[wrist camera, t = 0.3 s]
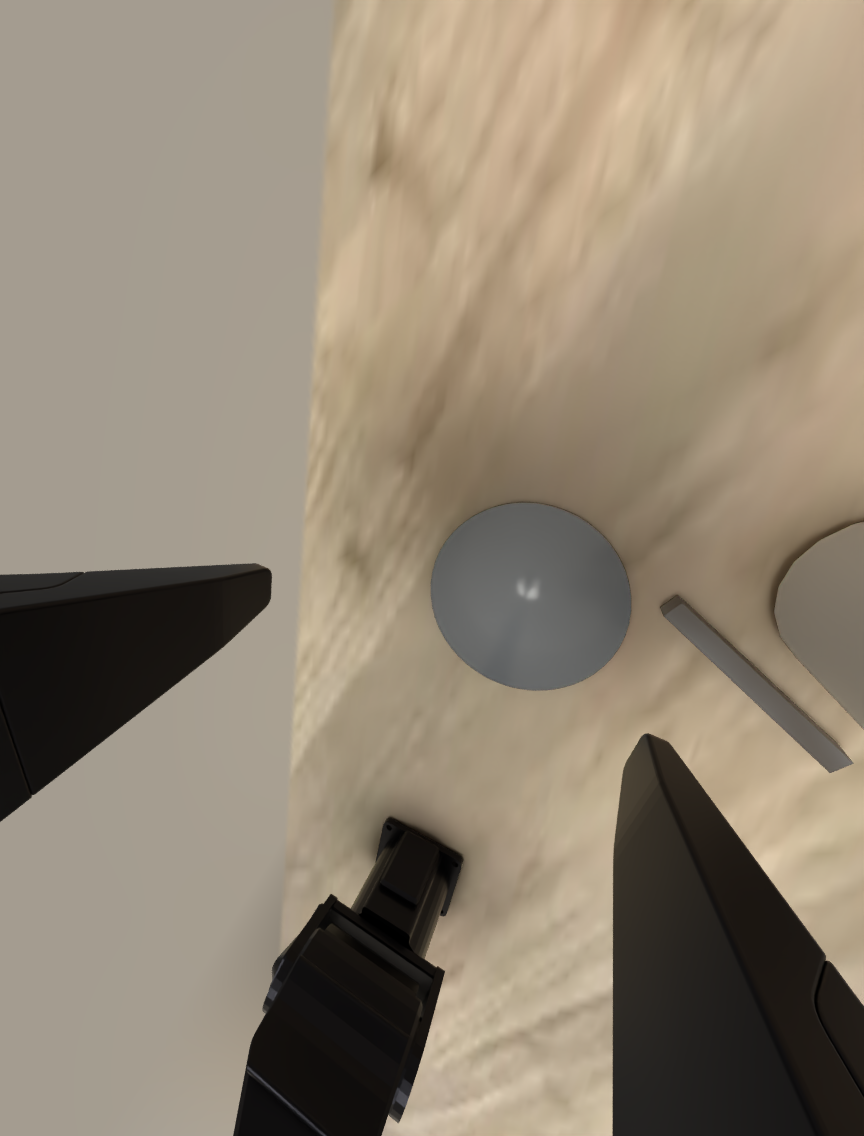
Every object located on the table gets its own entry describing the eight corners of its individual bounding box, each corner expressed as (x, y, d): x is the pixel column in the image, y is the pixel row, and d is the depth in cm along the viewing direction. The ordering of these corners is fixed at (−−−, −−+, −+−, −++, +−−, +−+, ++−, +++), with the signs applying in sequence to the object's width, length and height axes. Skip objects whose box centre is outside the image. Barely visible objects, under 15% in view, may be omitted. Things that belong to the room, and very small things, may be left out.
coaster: (591, 715, 23) (590, 719, 23) (419, 647, 26) (416, 650, 26) (665, 534, 19) (666, 535, 19) (453, 481, 23) (451, 481, 22)
